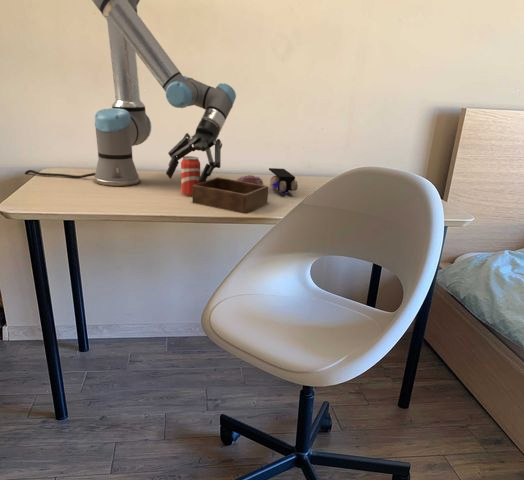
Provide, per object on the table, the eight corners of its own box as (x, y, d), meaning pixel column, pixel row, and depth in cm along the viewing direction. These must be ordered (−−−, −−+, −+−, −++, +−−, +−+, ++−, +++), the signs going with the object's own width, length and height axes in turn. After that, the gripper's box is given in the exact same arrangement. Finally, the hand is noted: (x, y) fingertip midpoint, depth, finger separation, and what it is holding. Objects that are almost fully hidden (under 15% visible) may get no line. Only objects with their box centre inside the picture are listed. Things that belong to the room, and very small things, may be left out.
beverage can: (194, 191, 178) (194, 155, 172) (203, 196, 173) (203, 159, 167) (178, 192, 175) (178, 156, 169) (186, 197, 170) (186, 159, 164)
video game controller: (235, 196, 183) (238, 180, 177) (233, 187, 185) (235, 171, 179) (262, 196, 185) (265, 180, 179) (259, 187, 188) (262, 171, 182)
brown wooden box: (192, 202, 165) (192, 184, 163) (217, 193, 178) (217, 177, 175) (245, 213, 158) (246, 195, 156) (267, 203, 171) (268, 186, 168)
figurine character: (297, 201, 182) (282, 186, 193) (300, 179, 177) (284, 166, 188) (280, 201, 180) (265, 186, 191) (283, 180, 175) (267, 166, 186)
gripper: (175, 113, 175) (149, 165, 171) (238, 123, 166) (212, 179, 162) (184, 128, 182) (159, 179, 177) (244, 139, 173) (219, 192, 169)
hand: (184, 179), depth 170 cm, fingers open, 12 cm apart
